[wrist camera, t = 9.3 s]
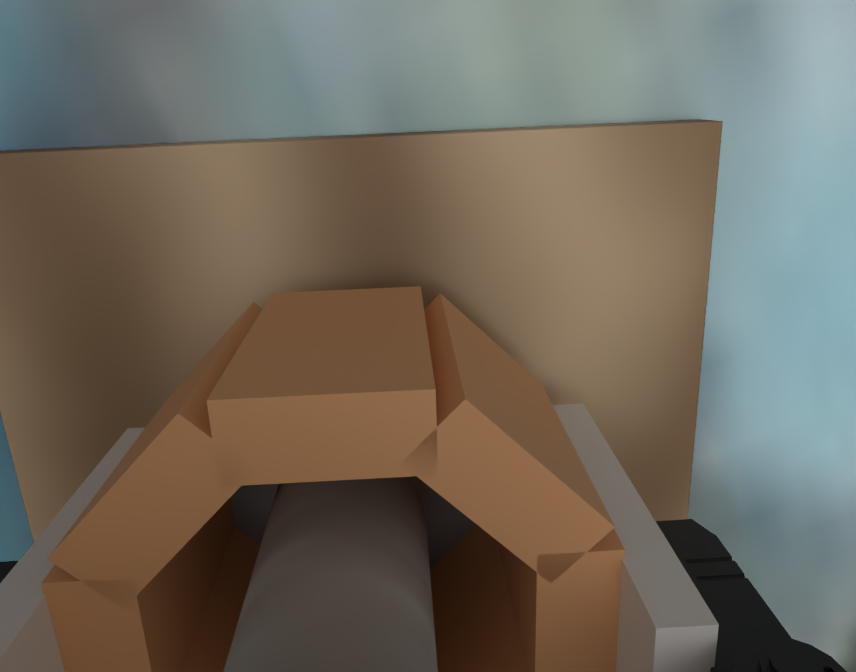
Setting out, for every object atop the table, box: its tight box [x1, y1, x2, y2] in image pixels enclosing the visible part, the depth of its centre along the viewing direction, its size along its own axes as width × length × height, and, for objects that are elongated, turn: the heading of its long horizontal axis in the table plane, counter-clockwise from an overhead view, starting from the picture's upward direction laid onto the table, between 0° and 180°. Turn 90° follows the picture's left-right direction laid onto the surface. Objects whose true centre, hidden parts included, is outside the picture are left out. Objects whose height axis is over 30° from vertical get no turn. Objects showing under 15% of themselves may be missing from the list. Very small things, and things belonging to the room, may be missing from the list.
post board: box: [0, 119, 723, 672], centre depth 13 cm, size 16×13×9 cm
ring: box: [41, 286, 625, 672], centre depth 12 cm, size 8×8×5 cm
